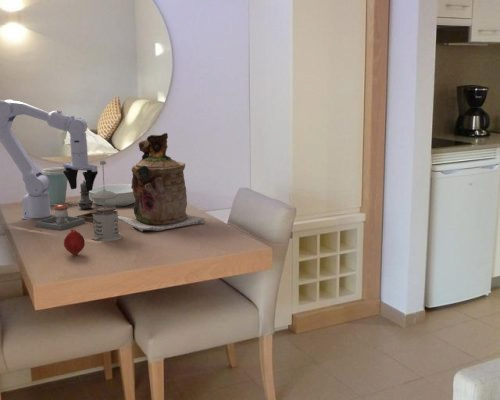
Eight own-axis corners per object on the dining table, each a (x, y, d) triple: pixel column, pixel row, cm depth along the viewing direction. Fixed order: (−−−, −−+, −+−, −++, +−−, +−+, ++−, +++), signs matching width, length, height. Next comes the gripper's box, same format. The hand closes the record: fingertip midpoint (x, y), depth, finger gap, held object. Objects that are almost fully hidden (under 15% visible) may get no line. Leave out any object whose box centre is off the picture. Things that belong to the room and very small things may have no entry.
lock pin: (52, 225, 210) (51, 205, 208) (62, 222, 214) (61, 203, 212) (61, 227, 207) (60, 207, 206) (72, 224, 211) (70, 204, 210)
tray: (35, 228, 208) (34, 221, 207) (60, 221, 218) (60, 214, 217) (60, 233, 202) (59, 225, 202) (85, 225, 212) (84, 218, 212)
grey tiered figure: (89, 213, 231) (87, 181, 229) (75, 212, 232) (73, 181, 230) (96, 209, 237) (94, 179, 234) (82, 209, 238) (80, 178, 235)
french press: (94, 242, 191) (90, 163, 186) (86, 234, 201) (82, 158, 196) (125, 239, 195) (122, 161, 190) (115, 230, 205) (112, 157, 200)
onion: (67, 252, 181) (65, 226, 179) (86, 252, 181) (85, 225, 180) (62, 258, 175) (61, 231, 173) (83, 257, 175) (81, 230, 174)
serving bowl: (117, 197, 259) (117, 181, 258) (153, 203, 247) (152, 187, 246) (78, 206, 243) (77, 189, 242) (114, 213, 231) (113, 195, 230)
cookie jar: (174, 211, 234) (172, 127, 228) (208, 224, 215) (206, 133, 208) (113, 220, 220) (109, 131, 214) (143, 234, 201) (140, 137, 194)
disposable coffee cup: (37, 204, 245) (35, 167, 242) (59, 200, 254) (57, 164, 251) (54, 208, 239) (52, 170, 236) (76, 203, 248) (74, 166, 245)
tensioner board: (67, 221, 218) (67, 210, 218) (93, 213, 230) (92, 203, 229) (95, 225, 212) (94, 214, 211) (120, 217, 224) (119, 207, 223)
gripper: (102, 152, 219) (104, 189, 221) (72, 150, 225) (74, 186, 228) (88, 154, 213) (90, 193, 215) (58, 152, 219) (60, 189, 222)
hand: (81, 189), depth 221 cm, fingers open, 7 cm apart
